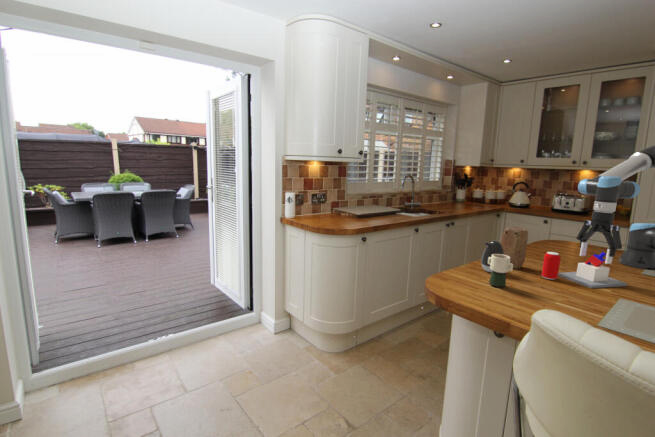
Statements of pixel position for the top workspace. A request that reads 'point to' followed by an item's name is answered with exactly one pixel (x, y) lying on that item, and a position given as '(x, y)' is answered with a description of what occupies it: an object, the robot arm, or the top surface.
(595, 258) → the toy building block
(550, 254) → the beverage can
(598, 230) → the robot arm
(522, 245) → the block
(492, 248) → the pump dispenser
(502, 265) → the character mug
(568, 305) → the top surface
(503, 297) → the top surface
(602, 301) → the top surface
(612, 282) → the build base
